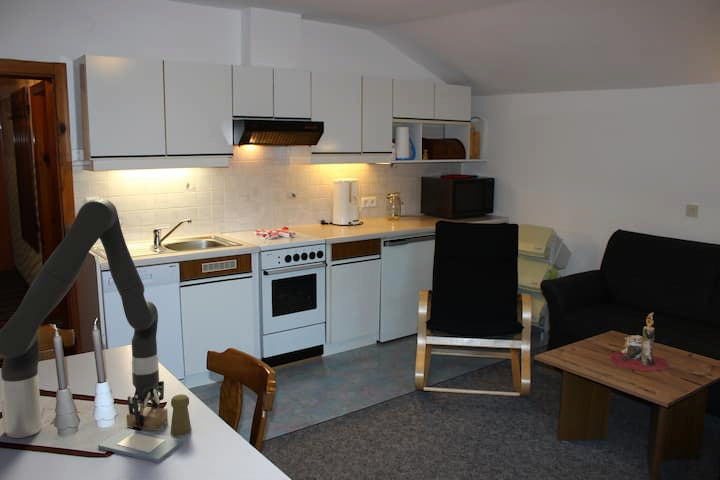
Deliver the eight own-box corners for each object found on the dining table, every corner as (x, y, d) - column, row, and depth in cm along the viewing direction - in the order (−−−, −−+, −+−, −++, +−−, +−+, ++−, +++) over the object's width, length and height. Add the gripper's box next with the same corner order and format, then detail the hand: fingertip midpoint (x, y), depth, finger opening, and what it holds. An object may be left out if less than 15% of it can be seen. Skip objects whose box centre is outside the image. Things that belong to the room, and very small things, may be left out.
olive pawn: (185, 437, 180) (184, 401, 178) (166, 434, 181) (165, 399, 179) (195, 427, 186) (194, 393, 184) (176, 425, 187) (175, 391, 185)
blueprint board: (98, 448, 173) (98, 444, 173) (125, 430, 183) (125, 427, 183) (158, 462, 166) (158, 458, 166) (183, 443, 176) (183, 439, 176)
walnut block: (127, 426, 186) (126, 414, 185) (137, 417, 191) (136, 405, 191) (158, 430, 184) (158, 417, 183) (167, 420, 190) (167, 408, 189)
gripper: (150, 358, 192) (152, 408, 195) (118, 375, 179) (121, 429, 182) (170, 362, 190) (172, 412, 193) (139, 379, 177) (142, 433, 180)
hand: (147, 420), depth 187 cm, fingers closed on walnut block, 6 cm apart
